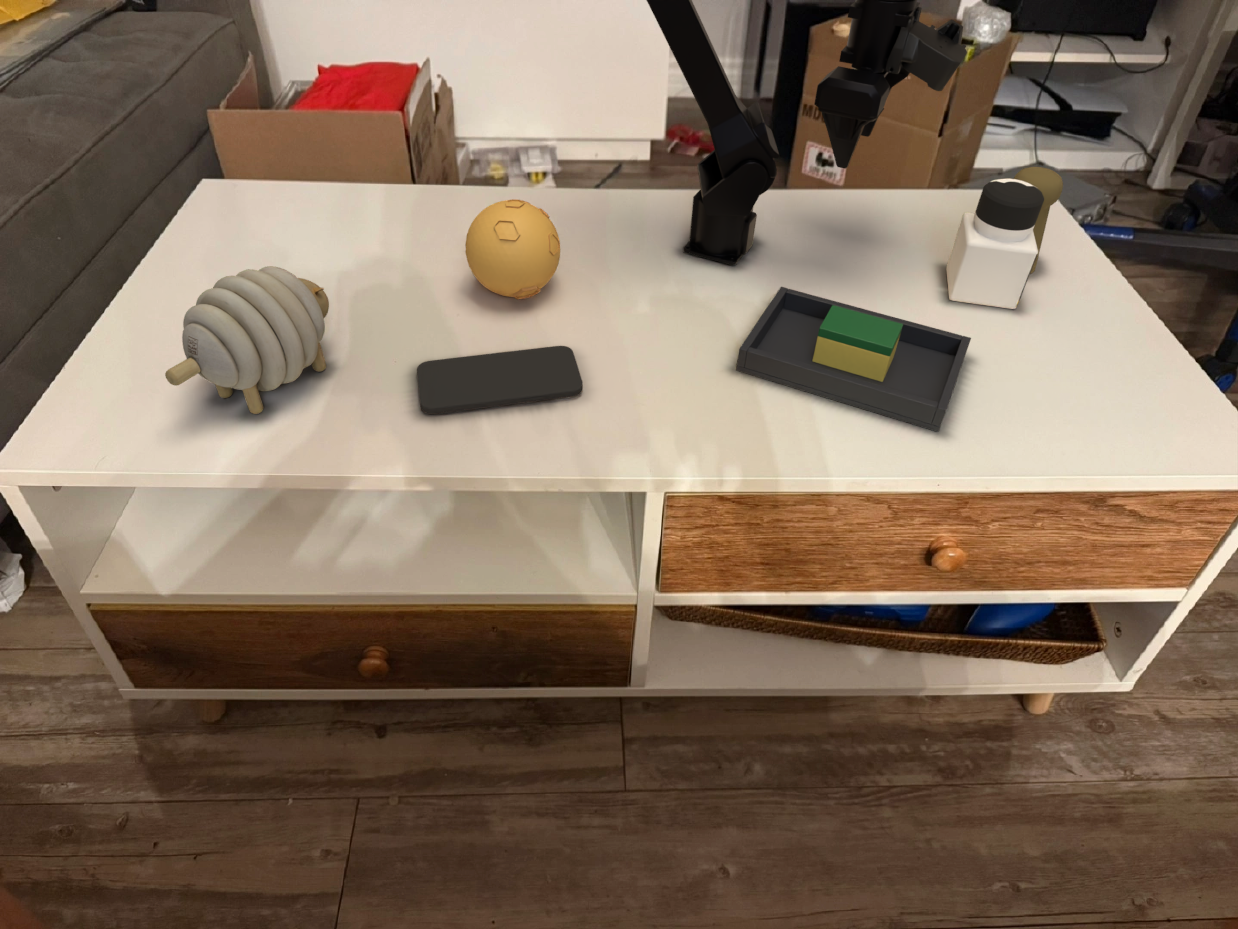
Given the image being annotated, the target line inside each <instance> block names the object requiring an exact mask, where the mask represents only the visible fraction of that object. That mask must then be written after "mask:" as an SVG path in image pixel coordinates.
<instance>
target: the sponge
mask: <svg viewBox="0 0 1238 929" xmlns="http://www.w3.org/2000/svg"><path fill="white" fill-rule="evenodd" d="M902 327H903V324H901V323H897V322H894V321H890V320H886V319H883V318H879V317H875V316H872V315H868V314H864V313H860V312H857V311H853V310H849V309H846V308H842V307H838V306H835V305H832V307H831V309H830V310H829V312H828V314H827V316H826V317H825V319H824V321H823V323H822V324H821V326H820V328H819V332H818V337H817V342H816V346H815V351H814V355H813V360H812V361H813V362H816V363H819V364H822V365H826V366H829V367H833V368H836V369H840V370H843V371H846V372H850V373H853V374H857V375H860V376H863V377H867V378H870V379H874V380H877V381H880V382H883V380H884V378H885V376H886V373H887V371H888V369H889V367H890V364H891V362H892V360H893V358H894V354H895V351H896V347H897V344H898V341H899V337H900V334H901V331H902Z"/></svg>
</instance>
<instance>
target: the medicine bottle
mask: <svg viewBox="0 0 1238 929" xmlns="http://www.w3.org/2000/svg"><path fill="white" fill-rule="evenodd" d="M1043 202H1044V196H1043V194H1042V192H1041V191H1040V190H1039V189H1038V188H1036V187H1035V186H1033V185H1031V184H1029V183H1027V182H1024V181H1021V180H1016V179H1013V178H998V179H993V180H991V181H989V182H987V183H985V185H984V186H983V187H982V190H981V193H980V196H979V200H978V203H977V206H976V208H975V211H974V212H969V211H968V212H964V213H963V214H962V216H961V220H960V222H959V225H958V226H959V227H958V228H957V232H956V236H955V239H954V242H953V245H952V248H951V251H950V254H949V257H948V261H947V263H946V266H945V269H946V280H947V292H948V299H949V300H950V301H952V302H961V303H966V304H974V305H981V306H988V307H996V308H1001V309H1002V308H1003V309H1011V310H1015V309H1017V307H1018V305H1019V303H1020V300H1021V297H1022V295H1023V293H1024V290H1025V288H1026V285H1027V282H1028V280H1029V277H1030V275H1031V274H1030V272H1031V270H1032V267H1033V265H1034V262H1035V260H1036V257H1037V255H1038V249H1037V245H1036V241H1035V237H1034V232H1033V228H1034V226H1035V223H1036V221H1037V218H1038V215H1039V213H1040V210H1041V207H1042V205H1043Z"/></svg>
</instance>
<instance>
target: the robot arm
mask: <svg viewBox="0 0 1238 929" xmlns="http://www.w3.org/2000/svg"><path fill="white" fill-rule="evenodd" d="M645 1H646V2H647V4H648V6H649V9H650V10H651V12H652V14H653V16H654V18H655V21H656V22H657V25H658V27H659V28H660V31H661V33H662V34H663V36H664V39H665V41H666V43H667V45H668V46H669V49H670V51H671V53H672V55H673V57H674V60H675V61H676V63H677V65H678V67H679V69H680V71H681V73H682V75H683V77H684V79H685V81H686V84H687V85H688V88H689V89H690V91H691V93H692V95H693V97H694V99H695V101H696V103H697V105H698V107H699V109H700V111H701V113H702V115H703V117H704V120H705V122H706V123H707V127H708V130H709V134H710V137H711V142H712V146H713V150H712V151H711V152H710V153H709V154H707V155H706V156H705V157H704V158H703V159H701V160H700V161H699V162H698V163H697V165H696V170H697V175H698V181H699V182H698V183H699V187H700V189H699V190H698V191H697V193H696V194H695V195H693V198H692V207H691V219H690V230H689V240H688V242H687V243H686V244H685V245H684V246H683V250H682V251H683V253H684V254H689V255H692V256H696V257H699V258H704V259H707V260H710V261H715V262H719V263H722V264H726V265H729V266H735V265H737V263H739V261H740V260H741V259H742V257H743V256H745V255H746V254H747V253H748V252H749V250H750V249H751V248H752V247H753V245H754V239H755V232H756V224H757V217H758V216H757V215H758V214H757V212H754V208H755V204H757V201H758V200H759V197H760V196H761V195H763V194H764V193H766V192H767V191H769V189H770V188H771V186H773V184H774V182H775V179H776V177H777V175H778V168H777V165H776V161H775V159H778V158H780V153H779V150H778V147H777V146H778V145H777V143H776V139H775V136H774V133H773V131H772V129H771V128H770V127H769V126H767V124H766V123H765V118H764V117H763V113H762V110H761V106H760V103H759V101H755V102H753V103H752V104H751V105H750V106H748V107H747V106H745V105H744V103H743V102H742V101H741V100H740V98H739V97H738V95H736V93H735V91H734V88H733V86H732V84H731V82H730V80H729V77H728V75H727V74H726V71H725V69H724V67H723V65H722V63H721V61H720V58H719V56H718V53H717V52H716V50H715V47H714V45H713V43H712V41H711V39H710V36H709V34H708V32H707V30H706V28H705V25H704V23H703V22H702V19H701V17H700V15H699V13H698V11H697V8H696V6H695V4H694V1H693V0H645ZM920 3H921V2H918V0H854V1H853V2H852V3H851V5H849V7H848V14H847V18H849V19H851V22H850V27H849V32H848V39H847V43H846V45H845V46H844V47H843V49H842V50H841V51H840V55H839V61H838V62H839V63H844V64H849V65H851V66H850V68H849V67H845V66H840V65H839V66H838V65H837V67H835V68H834V69H833V70H831V71H830V72H828V73H827V74H826V75H825V76H824V77H823V78H822V79H821V81H820V82H819V83H818V84H817V87H816V91H815V97H814V104H813V105H814V106H816V107H817V110H818V111H819V112H820V113H821V115H822V118H823V122H824V125H825V128H826V131H827V135H828V138H829V142H830V147H831V150H832V153H833V154H832V155H833V157H834V161H835V165H836V167H837V168H840V169H843V170H844V169H847V168H848V167H849V165H850V163H851V160H852V159H853V156H854V153H855V151H856V148H857V145H858V143H859V141H860V139H861V136H862V137H866V138H868V137H870V136H871V135H872V132H873V130H874V128H875V126H876V124H877V121H878V120H879V117H880V116H881V114H882V113H883V112H884V110H885V105H886V103H887V101H888V97H889V94H890V93H891V91H892V89H893V87H895V86H896V85H898V84H899V83H900V82H902V81H903V80H905V79H906V78H908V76H909V75H910V74H911V75H913V76H915V77H916V78H918V79H920V80H922V81H923V82H925V83H926V85H927V87H928V88H930V89H931V90H934V91H936V92H942V91H943V90H944V88H946V86H947V85H948V83H949V81H950V80H951V78H952V77H953V75H954V74H955V72H956V71H957V69H958V68H959V66H960V65H961V63H962V62H963V61H964V59H965V57H966V56H967V54H968V51H967V49H966V48H967V45H966V44H965V43H962V40H963V39H962V38H963V31H964V26H963V25H962V24H960V22H959V23H958V21H955V20H954V19H949V20H948V21H946V22H945V23H944V24H941V25H940V26H938V27H937V28H936V26H935V25H933V24H931V25H930V26H928V25H927V24H925V23H923V22H921V21H920V18H921V13H922V9H923V8H922V7H921V6H920ZM935 28H936V29H935ZM961 43H962V45H961Z"/></svg>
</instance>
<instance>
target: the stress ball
mask: <svg viewBox="0 0 1238 929" xmlns="http://www.w3.org/2000/svg"><path fill="white" fill-rule="evenodd" d="M464 246H465V257H466V261H467V264H468V267H469V269H470V271H471V273H472V274H473V276H474V277H475V279H476V280H477V281H478V282H479V283H480V284H481V285H482V286H483V287H484V288H486V289H487V290H489V291H490V292H492V293H495V294H497V295H500V296H503V297H507V298H508V297H509V298H514V299H515V300H524V299H528V298H532V297H533V296H536V295H537V294H539V293H540V292H541V289H543V287H544V286H546V285H547V284H548V283H549V282H550V281H551V279H552V278H553V277H554V275H555V273H556V271H557V268H558V266H559V263H560V258H561V240H560V237H559V232H558V230H557V229H556V227H555V224H554V222H553V221H552V220H551V219H550V215H549V214H548V213H547V212H546V211H545V210H544V209H543V208H541V207H540V208H539V207H537V206H535V205H534V204H531V203H530V202H528V201H526V200H523V199H522V200H521V199H506V200H501V201H497V202H495V203H492V204H489V205H488V206H486V207H485V208H484V209H482V210H481V211H480V212H479V213H478V214H477V215H476V216H475V217H474V219H473V220H472V222H471V224H470V225H469V227H468V231H467V233H466V237H465V245H464Z"/></svg>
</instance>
